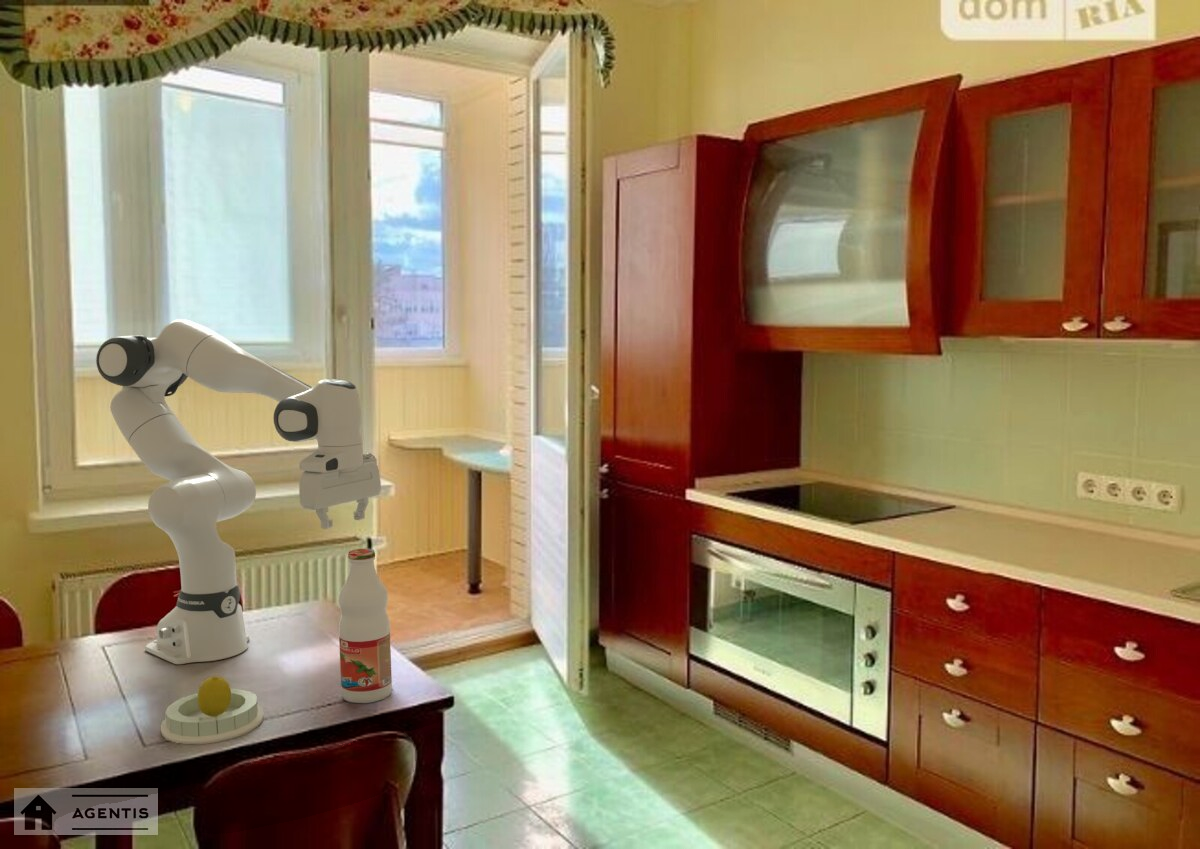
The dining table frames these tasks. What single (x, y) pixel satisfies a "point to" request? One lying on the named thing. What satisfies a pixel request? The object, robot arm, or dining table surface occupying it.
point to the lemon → (214, 696)
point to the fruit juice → (364, 632)
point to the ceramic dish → (211, 719)
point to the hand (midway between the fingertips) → (343, 523)
